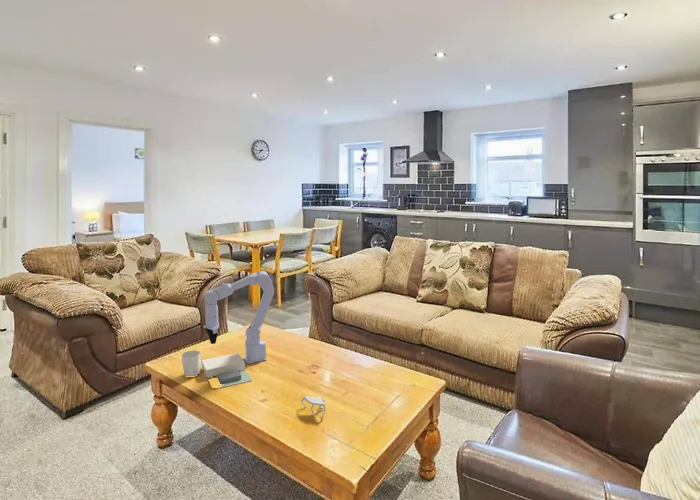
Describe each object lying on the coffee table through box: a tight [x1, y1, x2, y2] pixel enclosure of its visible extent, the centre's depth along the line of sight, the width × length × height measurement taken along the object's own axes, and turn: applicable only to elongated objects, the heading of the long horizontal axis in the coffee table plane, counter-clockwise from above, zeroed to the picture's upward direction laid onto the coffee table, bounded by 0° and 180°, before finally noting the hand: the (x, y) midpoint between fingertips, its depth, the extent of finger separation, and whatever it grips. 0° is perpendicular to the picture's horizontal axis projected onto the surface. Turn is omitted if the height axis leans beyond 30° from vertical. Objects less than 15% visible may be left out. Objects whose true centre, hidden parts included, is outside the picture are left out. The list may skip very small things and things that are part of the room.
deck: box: [201, 352, 246, 378], centre depth 194 cm, size 17×12×4 cm
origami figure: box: [301, 396, 326, 418], centre depth 159 cm, size 12×8×5 cm
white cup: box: [181, 350, 202, 377], centre depth 188 cm, size 8×8×10 cm
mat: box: [222, 370, 253, 388], centre depth 184 cm, size 17×11×1 cm, turn 119°
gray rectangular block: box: [216, 370, 241, 384], centre depth 184 cm, size 9×6×2 cm, turn 119°
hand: (213, 343), depth 199 cm, fingers closed
